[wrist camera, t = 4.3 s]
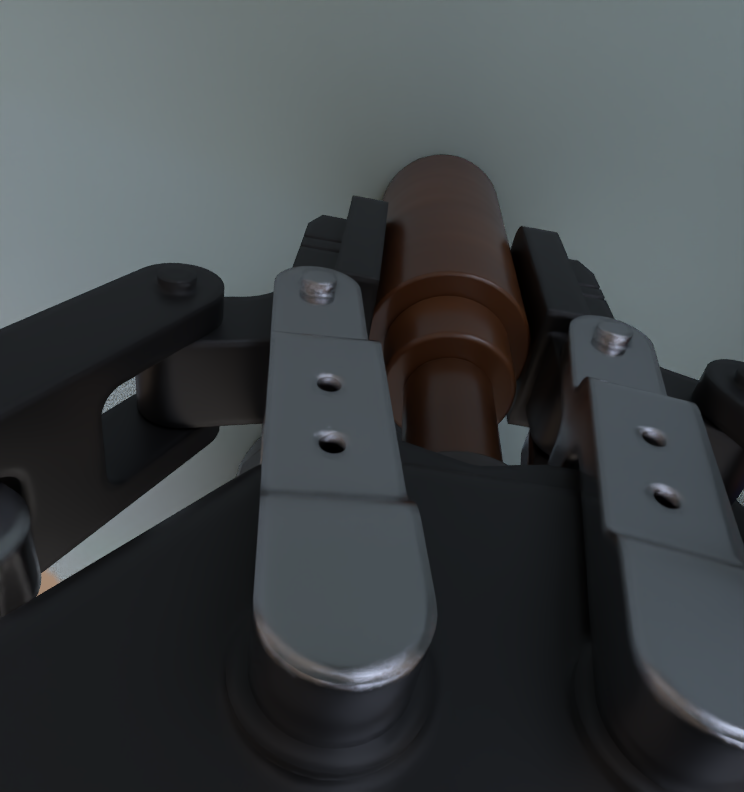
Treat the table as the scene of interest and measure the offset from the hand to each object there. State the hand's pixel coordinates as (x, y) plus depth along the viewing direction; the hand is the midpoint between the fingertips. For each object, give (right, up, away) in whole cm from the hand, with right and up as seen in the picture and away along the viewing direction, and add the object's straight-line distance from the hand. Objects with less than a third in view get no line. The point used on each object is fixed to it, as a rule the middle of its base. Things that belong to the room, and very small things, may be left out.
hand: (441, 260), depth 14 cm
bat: (0, +2, +2) cm, 3 cm away
